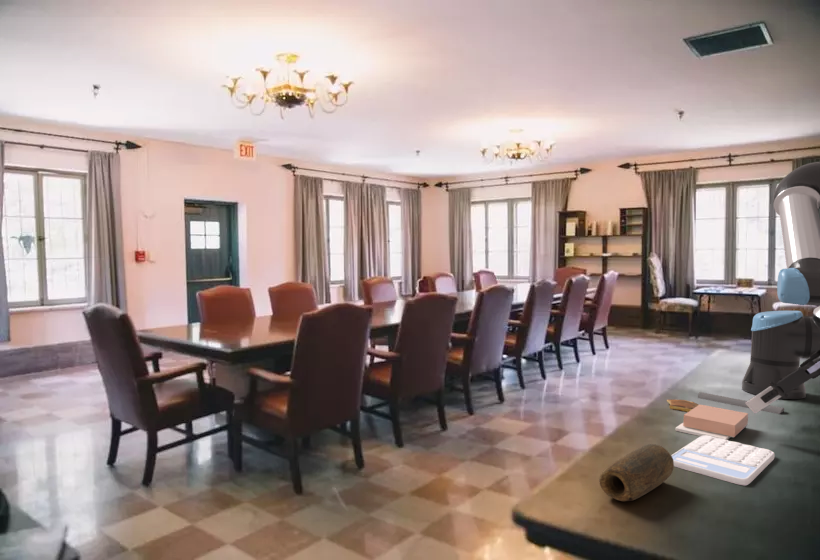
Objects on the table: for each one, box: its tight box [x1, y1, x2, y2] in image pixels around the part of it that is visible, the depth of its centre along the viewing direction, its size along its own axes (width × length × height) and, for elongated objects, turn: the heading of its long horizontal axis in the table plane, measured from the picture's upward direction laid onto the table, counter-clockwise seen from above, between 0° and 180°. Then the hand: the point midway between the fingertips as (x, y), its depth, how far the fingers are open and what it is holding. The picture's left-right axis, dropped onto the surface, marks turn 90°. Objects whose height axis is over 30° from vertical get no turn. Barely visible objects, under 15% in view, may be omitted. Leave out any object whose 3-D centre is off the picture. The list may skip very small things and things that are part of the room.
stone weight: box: [598, 443, 675, 502], centre depth 89 cm, size 15×7×7 cm, turn 135°
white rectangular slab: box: [674, 422, 731, 441], centre depth 123 cm, size 16×10×1 cm, turn 137°
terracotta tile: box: [682, 404, 749, 438], centre depth 122 cm, size 12×3×10 cm
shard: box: [666, 399, 699, 413], centre depth 136 cm, size 11×8×2 cm
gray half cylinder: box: [697, 391, 785, 415], centre depth 143 cm, size 4×20×2 cm, turn 42°
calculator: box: [670, 435, 776, 487], centre depth 104 cm, size 13×20×2 cm, turn 134°
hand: (750, 407), depth 117 cm, fingers closed
